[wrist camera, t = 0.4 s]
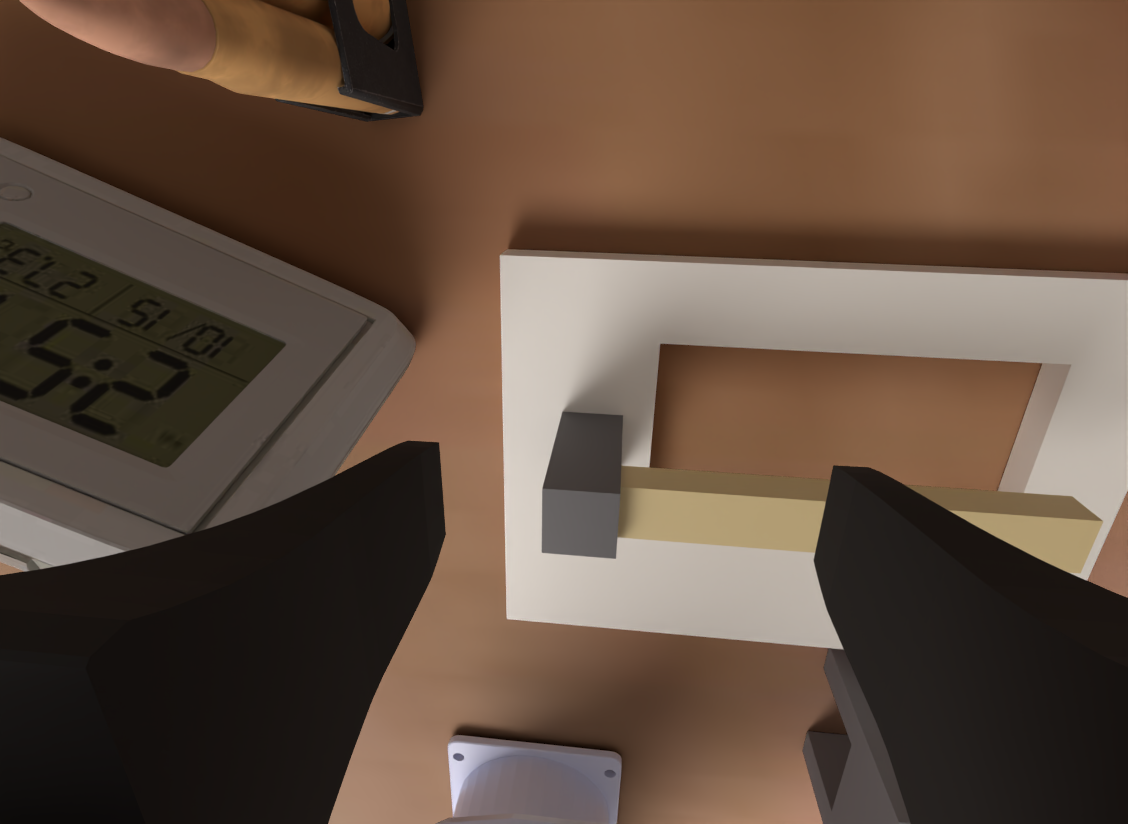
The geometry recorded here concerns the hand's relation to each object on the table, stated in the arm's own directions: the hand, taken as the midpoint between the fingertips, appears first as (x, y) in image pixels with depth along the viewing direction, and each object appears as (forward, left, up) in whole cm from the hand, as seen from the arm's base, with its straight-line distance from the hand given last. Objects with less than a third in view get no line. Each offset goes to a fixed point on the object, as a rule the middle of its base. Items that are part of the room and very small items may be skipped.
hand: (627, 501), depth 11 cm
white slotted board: (-4, -6, -10) cm, 12 cm away
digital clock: (+1, +15, -10) cm, 18 cm away
